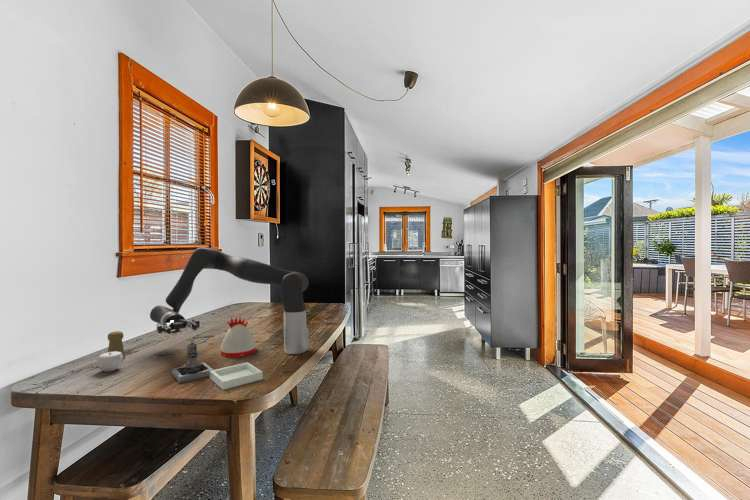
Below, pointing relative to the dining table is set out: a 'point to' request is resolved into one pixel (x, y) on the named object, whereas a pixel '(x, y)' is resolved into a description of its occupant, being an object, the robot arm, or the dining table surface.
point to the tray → (235, 375)
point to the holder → (177, 373)
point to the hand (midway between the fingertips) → (183, 329)
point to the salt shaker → (192, 360)
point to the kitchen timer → (238, 340)
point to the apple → (109, 361)
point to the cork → (116, 342)
